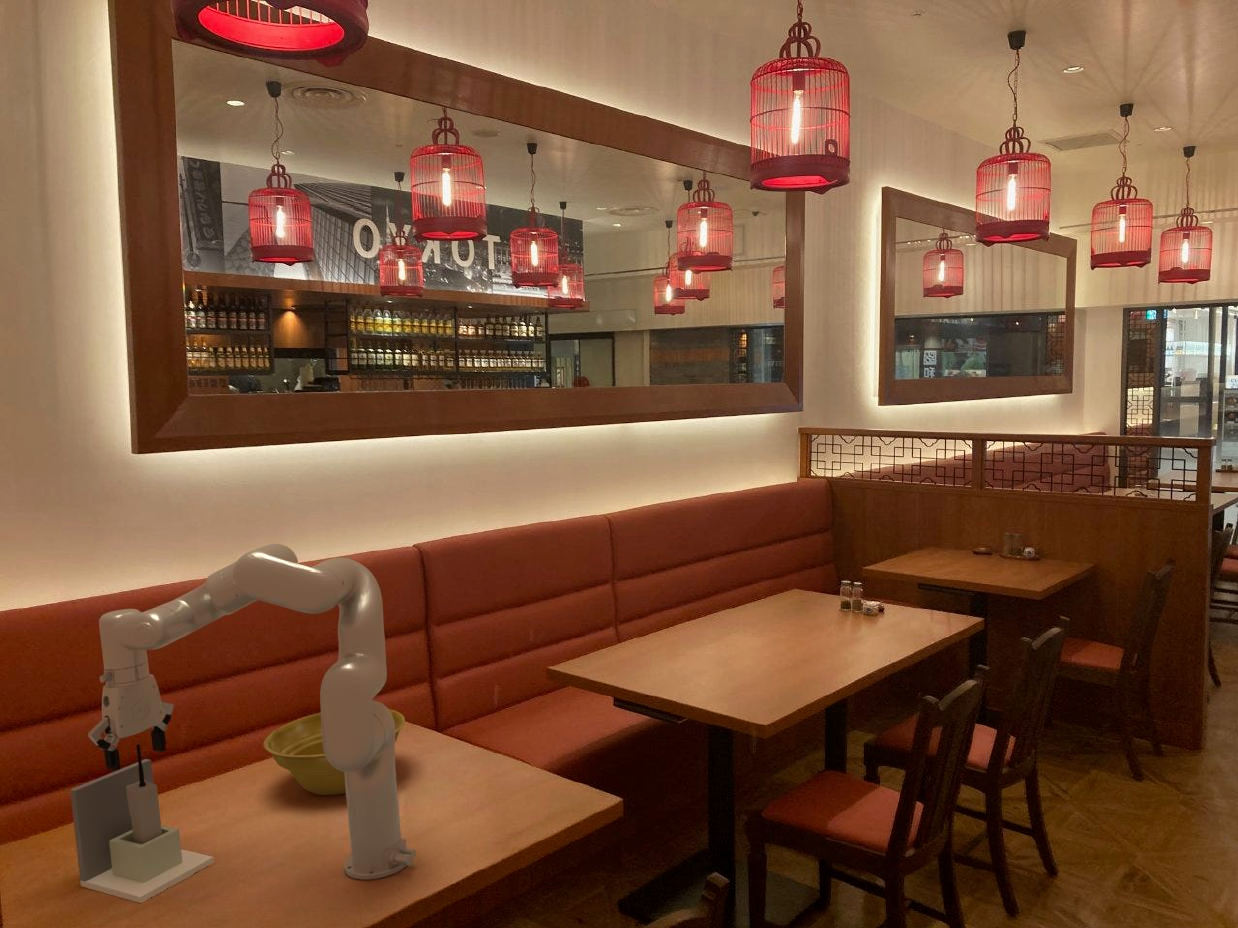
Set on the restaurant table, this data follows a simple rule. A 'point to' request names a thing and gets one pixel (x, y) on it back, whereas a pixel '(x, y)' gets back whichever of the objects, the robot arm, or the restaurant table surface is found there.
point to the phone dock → (125, 842)
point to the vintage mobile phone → (143, 807)
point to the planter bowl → (311, 754)
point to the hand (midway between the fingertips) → (137, 759)
